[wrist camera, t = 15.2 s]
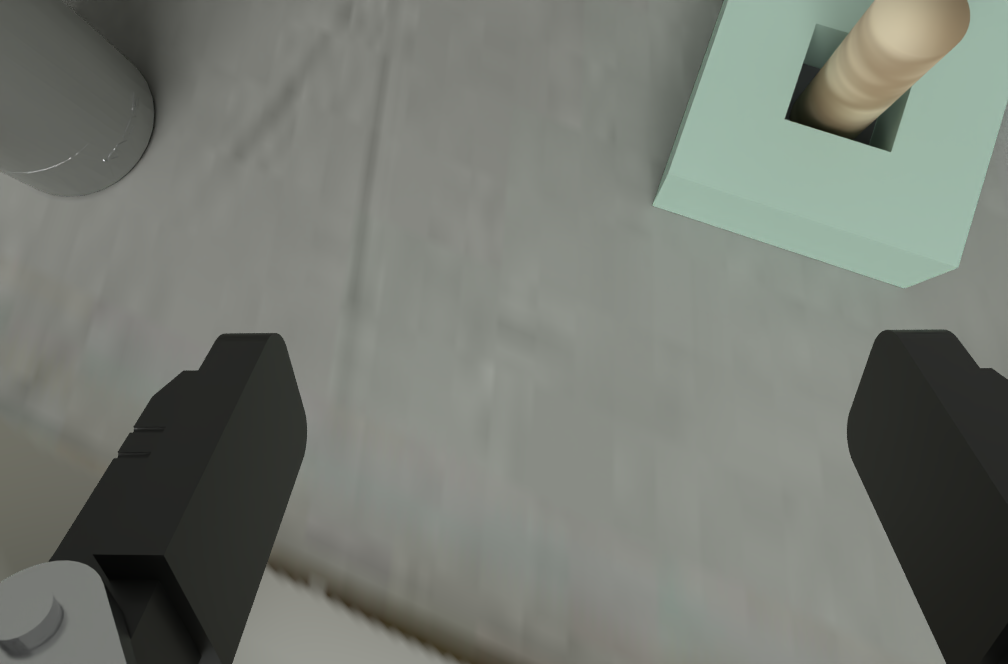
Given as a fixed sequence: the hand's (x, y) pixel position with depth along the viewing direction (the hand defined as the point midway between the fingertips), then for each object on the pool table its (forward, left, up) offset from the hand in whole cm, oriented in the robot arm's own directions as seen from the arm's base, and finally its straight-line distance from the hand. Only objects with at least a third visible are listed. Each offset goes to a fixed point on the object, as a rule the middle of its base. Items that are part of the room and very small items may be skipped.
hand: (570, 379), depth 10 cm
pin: (+8, +20, -27) cm, 34 cm away
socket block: (+8, +20, -29) cm, 36 cm away
